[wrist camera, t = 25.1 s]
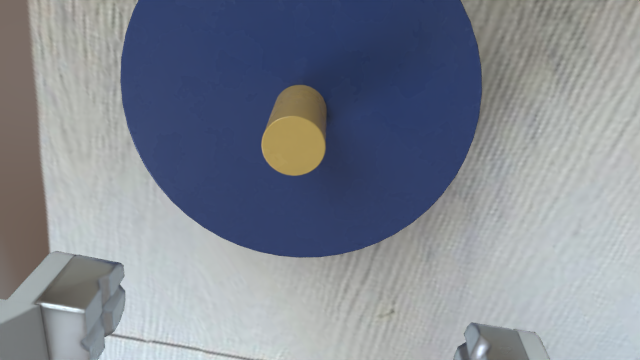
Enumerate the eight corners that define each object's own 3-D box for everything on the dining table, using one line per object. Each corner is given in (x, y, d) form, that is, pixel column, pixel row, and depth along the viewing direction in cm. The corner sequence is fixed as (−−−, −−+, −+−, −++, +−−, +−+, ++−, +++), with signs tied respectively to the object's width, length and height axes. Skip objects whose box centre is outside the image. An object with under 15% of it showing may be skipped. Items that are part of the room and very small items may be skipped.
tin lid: (345, -195, 17) (351, -258, 12) (534, 139, 23) (592, 193, 18) (57, 63, 22) (-27, 97, 17) (274, 291, 27) (261, 368, 22)
